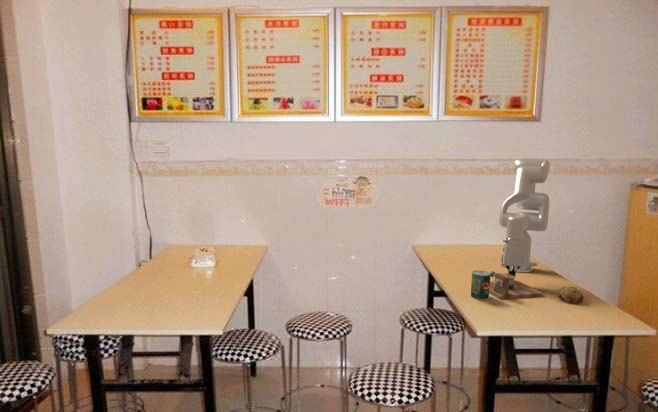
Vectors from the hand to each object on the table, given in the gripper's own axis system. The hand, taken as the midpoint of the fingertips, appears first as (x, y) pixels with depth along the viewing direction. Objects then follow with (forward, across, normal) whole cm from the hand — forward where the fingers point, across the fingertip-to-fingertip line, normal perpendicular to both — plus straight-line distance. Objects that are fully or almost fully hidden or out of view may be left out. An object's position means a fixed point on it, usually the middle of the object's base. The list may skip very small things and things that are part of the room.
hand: (511, 278), depth 229 cm
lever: (+1, -7, -4) cm, 8 cm away
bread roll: (+3, +18, -21) cm, 28 cm away
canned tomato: (+3, -21, -20) cm, 29 cm away
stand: (+3, -5, -10) cm, 11 cm away
